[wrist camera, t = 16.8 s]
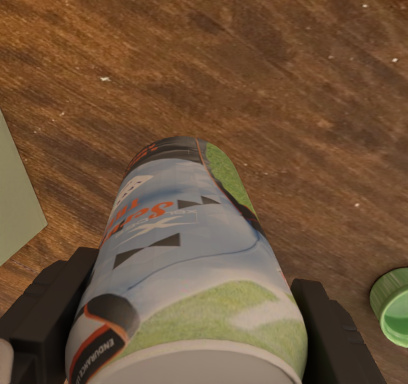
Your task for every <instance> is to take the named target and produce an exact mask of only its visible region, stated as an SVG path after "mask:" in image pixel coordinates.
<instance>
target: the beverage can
mask: <svg viewBox="0 0 408 384" xmlns="http://www.w3.org/2000/svg"><path fill="white" fill-rule="evenodd" d="M99 249H100V251H99V254H98V257H97V260H96V262H95V265H94V267H93V270H92V272H91V275H90V277H89V280H88V282H87V285H86V287H85V290H84V292H83V295H82V298H81V300H80V303H79V306H78V309H77V312H76V315H75V318H74V321H73V324H72V326H71V329H70V333H69V336H68V340H67V343H66V347H65V372H66V376H67V380H68V384H302V379H303V375H304V371H305V367H306V363H307V357H308V337H307V332H306V328H305V324H304V321H303V317H302V315H301V313H300V311H299V308H298V306H297V304H296V302H295V299H294V297H293V295H292V293H291V291H290V288H289V286H288V284H287V282H286V279H285V277H284V275H283V273H282V271H281V268H280V266H279V264H278V262H277V259H276V257H275V255H274V253H273V251H272V248H271V246H270V244H269V242H268V239H267V237H266V235H265V233H264V231H263V228H262V226H261V224H260V222H259V219H258V217H257V215H256V213H255V211H254V208H253V206H252V204H251V202H250V199H249V197H248V195H247V193H246V191H245V188H244V186H243V184H242V182H241V179H240V177H239V175H238V173H237V171H236V169H235V167H234V165H233V163H232V161H231V160H230V159H229V158H228V156H227V155H226V154H225V153H224V152H223V151H221V150H220V149H219V148H218V147H216V146H215V145H213V144H211V143H209V142H207V141H204V140H201V139H199V138H194V137H188V136H175V137H169V138H164V139H161V140H159V141H156V142H153V143H152V144H150V145H148V146H146V147H145V148H144V149H142V150H141V151H140V152H139V153H138V154H137V155H136V156H135V157H134V158H133V159H132V161H131V162H130V164H129V165H128V167H127V169H126V171H125V174H124V177H123V180H122V183H121V185H120V188H119V191H118V194H117V197H116V200H115V203H114V206H113V208H112V211H111V214H110V217H109V220H108V223H107V226H106V229H105V231H104V234H103V237H102V240H101V243H100V246H99Z"/></svg>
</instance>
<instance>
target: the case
mask: <svg viewBox="0 0 408 384" xmlns="http://www.w3.org/2000/svg"><path fill="white" fill-rule="evenodd" d="M47 225H48V224H47V221H46V219H45V216H44V214H43V211H42V209H41V207H40V204H39V202H38V199H37V197H36V194H35V192H34V190H33V187H32V185H31V182H30V180H29V177H28V175H27V173H26V170H25V168H24V165H23V163H22V160H21V158H20V155H19V153H18V151H17V148H16V146H15V143H14V141H13V138H12V136H11V134H10V131H9V129H8V126H7V124H6V121H5V119H4V117H3V114H2V112H1V109H0V266H1V265H2V264H3V263H4V262H6V261H7V260H8V259H9V258H10V257H11V256H12V255H14V254H15V253H16V252H17V251H18V250H19V249H20V248H22V247H23V246H24V245H25V244H26V243H27V242H28V241H30V240H31V239H32V238H33V237H34V236H35V235H36V234H38V233H39V232H40V231H41V230H42V229H43V228H44V227H46V226H47Z"/></svg>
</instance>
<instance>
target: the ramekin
mask: <svg viewBox="0 0 408 384" xmlns="http://www.w3.org/2000/svg"><path fill="white" fill-rule="evenodd" d="M370 304H371V307H372V309H373V311H374V313H375V315H376V317H377V319H378V321H379V324H380V327H381V330H382V332H383V333H384V335H385V336H386V337H387V338H388V339H389V340H390V341H392V342H393V343H395V344H397V345H399V346H403V347H407V348H408V268H400V269H396V270H393V271H390V272H388V273H386V274H385V275H383V276H382V277H381V278H380V279H379V280H378V281H377V282H376V283H375V284H374V286H373V287H372V290H371V293H370Z"/></svg>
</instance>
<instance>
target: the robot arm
mask: <svg viewBox="0 0 408 384" xmlns="http://www.w3.org/2000/svg"><path fill="white" fill-rule="evenodd" d="M99 251H100V249H94V248H87V247H79V248H78V249H77V250H76V251H75V253H74V254H73V255H72V257H71V258H70V259H69V260H68V261H62V260H58V261H57V262H55V263H53V264H52V265H50V266H48V267H46V268H45V269H43V270H42V271H41V273H40V274H39V275H38V276H37V277H36V278H35V279H34V281H33V283H32V284H30V285H29V286H28V288H27V289H26V290H25V291H24V293H23V295H21V296H20V297H19V298H18V299H17V300H16V301H15V302H14V304H13V305H12V306H11V307H10V308H9V309H8V311H7V312H6V313H5V314H4V315H3V316H2V317H1V319H0V384H64V382H65V380H66V378H67V376H66V372H65V347H66V343H67V340H68V336H69V333H70V329H71V326H72V324H73V321H74V318H75V315H76V312H77V309H78V306H79V303H80V300H81V298H82V295H83V292H84V290H85V287H86V285H87V282H88V280H89V277H90V275H91V272H92V270H93V267H94V265H95V262H96V260H97V257H98V254H99ZM290 291H291V293H292V295H293V297H294V299H295V302H296V304H297V306H298V308H299V311H300V313H301V315H302V317H303V321H304V324H305V328H306V332H307V337H308V357H307V363H306V367H305V371H304V375H303V379H302V384H387V383H386V381H385V379H384V378H383V376H382V374H381V372H380V370H379V368H378V366H377V365H376V363H375V361H374V359H373V357H372V355H371V353H370V352H369V350H368V348H367V346H366V344H364V340H363V338H362V337H361V335H360V333H359V332H357V327H356V325H355V324H354V322H353V320H352V318H351V316H350V314H349V313H348V312H347V311H346V310H345V309H344V308H343V307H342V306H341V305H340V304H339V303H338V302H337V301H335V300H329V298H328V296H327V294H326V292H325V290H324V288H323V286H322V284H321V283H320V282H318V281H311V280H304V279H297V278H296V279H294V280H293V282H292V285H291V288H290Z"/></svg>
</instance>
